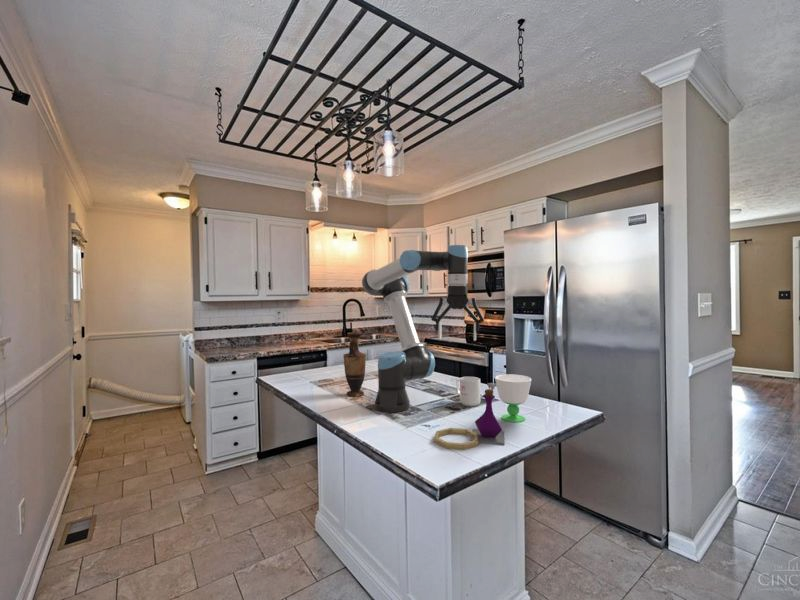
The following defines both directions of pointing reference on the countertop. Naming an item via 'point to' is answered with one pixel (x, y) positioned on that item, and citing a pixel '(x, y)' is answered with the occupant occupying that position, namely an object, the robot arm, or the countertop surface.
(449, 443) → the wooden octagonal frame
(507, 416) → the cup
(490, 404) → the perfume bottle
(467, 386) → the mug
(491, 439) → the slate coaster
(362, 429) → the countertop surface
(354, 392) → the vase
